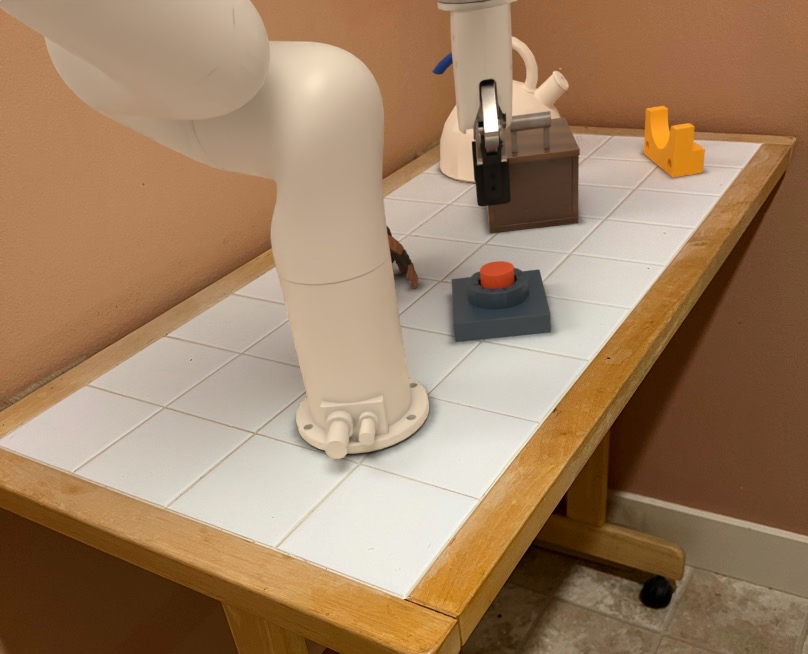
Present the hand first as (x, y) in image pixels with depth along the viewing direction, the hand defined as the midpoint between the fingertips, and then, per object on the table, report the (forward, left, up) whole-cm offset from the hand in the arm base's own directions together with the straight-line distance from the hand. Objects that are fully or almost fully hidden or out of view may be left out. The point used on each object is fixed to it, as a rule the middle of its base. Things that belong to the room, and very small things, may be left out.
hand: (491, 190), depth 81 cm
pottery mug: (+11, +14, -14) cm, 23 cm away
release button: (0, 0, -10) cm, 10 cm away
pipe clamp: (+42, -28, -14) cm, 52 cm away
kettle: (+52, -4, -14) cm, 54 cm away
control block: (0, 0, -14) cm, 14 cm away
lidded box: (+30, -6, -14) cm, 33 cm away
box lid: (+30, -6, -5) cm, 31 cm away
